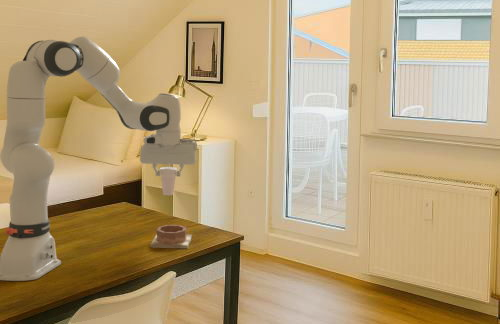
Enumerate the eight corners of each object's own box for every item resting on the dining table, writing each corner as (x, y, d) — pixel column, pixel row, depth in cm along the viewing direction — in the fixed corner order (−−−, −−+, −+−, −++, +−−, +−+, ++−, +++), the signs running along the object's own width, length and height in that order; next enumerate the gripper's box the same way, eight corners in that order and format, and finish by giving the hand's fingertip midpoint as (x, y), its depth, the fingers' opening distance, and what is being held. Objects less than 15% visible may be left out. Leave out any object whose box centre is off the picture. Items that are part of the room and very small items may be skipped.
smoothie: (179, 193, 229) (179, 156, 227) (173, 196, 223) (173, 158, 221) (163, 191, 231) (163, 155, 228) (156, 195, 224) (156, 157, 222)
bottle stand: (187, 248, 214) (187, 234, 214) (150, 247, 215) (150, 233, 214) (191, 237, 227) (191, 224, 226) (156, 236, 228) (156, 223, 227)
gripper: (197, 138, 227) (197, 174, 229) (142, 136, 226) (142, 173, 229) (196, 140, 220) (195, 178, 223) (139, 138, 220) (139, 176, 222)
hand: (168, 175), depth 226 cm, fingers closed on smoothie, 6 cm apart
